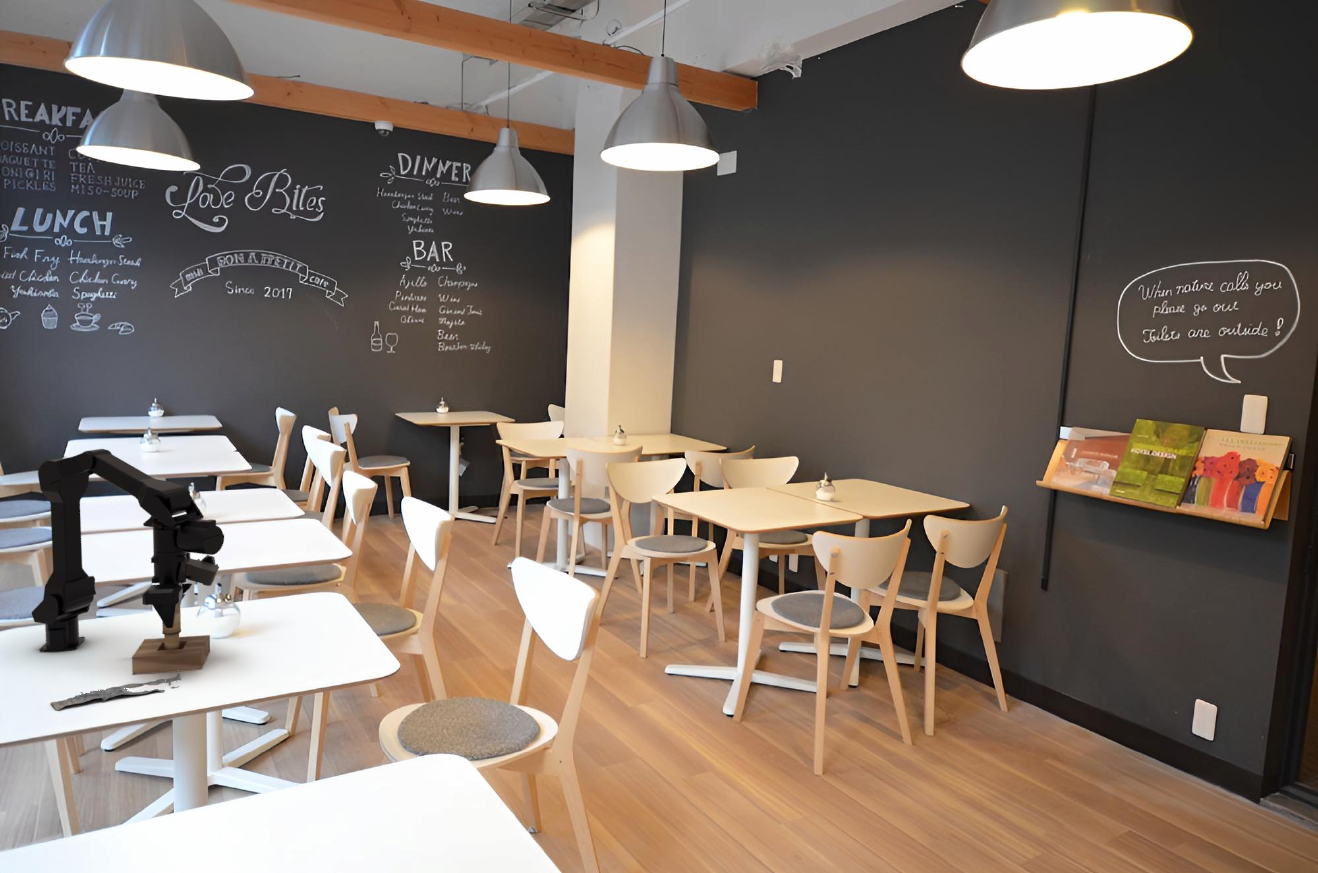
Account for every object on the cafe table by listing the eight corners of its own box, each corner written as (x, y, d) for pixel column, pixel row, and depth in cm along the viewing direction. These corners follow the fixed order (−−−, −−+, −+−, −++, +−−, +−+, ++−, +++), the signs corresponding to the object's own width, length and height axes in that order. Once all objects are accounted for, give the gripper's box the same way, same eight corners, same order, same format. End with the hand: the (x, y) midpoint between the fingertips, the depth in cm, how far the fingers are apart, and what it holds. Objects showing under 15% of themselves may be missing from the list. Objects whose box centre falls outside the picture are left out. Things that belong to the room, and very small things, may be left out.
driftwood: (49, 716, 150) (49, 704, 149) (50, 701, 155) (49, 690, 155) (184, 693, 161) (184, 683, 161) (180, 680, 167) (180, 670, 167)
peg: (164, 646, 174) (163, 589, 172) (183, 645, 175) (181, 588, 173) (161, 652, 171) (159, 594, 169) (179, 651, 172) (178, 593, 170)
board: (145, 655, 176) (144, 639, 176) (210, 651, 180) (209, 635, 179) (132, 674, 167) (131, 657, 166) (201, 669, 170) (201, 652, 170)
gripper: (207, 560, 164) (208, 638, 166) (222, 536, 182) (223, 607, 184) (140, 562, 161) (142, 642, 162) (163, 538, 178) (164, 611, 180)
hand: (171, 625), depth 172 cm, fingers closed on peg, 3 cm apart
